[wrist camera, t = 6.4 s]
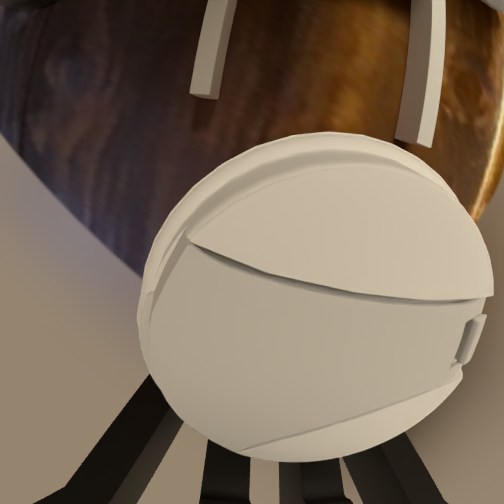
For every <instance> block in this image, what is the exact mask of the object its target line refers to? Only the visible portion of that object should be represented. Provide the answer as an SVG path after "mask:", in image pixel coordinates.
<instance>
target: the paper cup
mask: <svg viewBox="0 0 504 504" xmlns="http://www.w3.org/2000/svg"><path fill="white" fill-rule="evenodd" d="M488 296H493V273H492V267H491V262H490V257H489V254H488V251H487V248H486V246H485V243H484V240H483V238H482V236H481V233H480V231H479V229H478V227H477V226H476V224H475V223H474V221H473V220H472V218H471V217H470V215H469V214H468V213H467V211H466V210H465V208H464V207H463V206H462V205H461V204H460V203H459V201H458V199H457V197H456V195H455V194H454V193H453V191H452V190H451V189H450V188H449V186H448V185H447V184H446V183H445V181H444V180H443V179H442V178H441V176H440V175H438V174H437V173H436V172H435V171H434V170H433V169H432V168H430V167H429V166H428V165H427V164H426V163H424V162H423V161H422V160H421V159H419V158H418V157H416V156H414V155H413V154H411V153H409V152H407V151H405V150H403V149H401V148H400V147H398V146H396V145H394V144H391V143H388V142H385V141H382V140H378V139H375V138H372V137H368V136H365V135H359V134H349V133H338V132H319V133H309V134H300V135H292V136H288V137H285V138H281V139H278V140H274V141H271V142H268V143H265V144H261V145H258V146H255V147H253V148H251V149H249V150H247V151H245V152H243V153H242V154H240V155H238V156H236V157H234V158H232V159H230V160H228V161H226V162H224V163H223V164H221V165H220V166H219V167H217V168H216V169H215V170H213V171H212V172H211V173H209V174H208V175H207V176H206V177H204V178H203V179H202V180H200V181H199V182H198V183H197V184H195V185H194V186H193V187H192V188H191V189H190V191H189V192H188V193H187V194H186V195H185V196H184V197H183V198H182V200H181V201H180V202H179V203H178V204H177V205H176V206H175V207H174V209H173V210H172V211H171V212H170V214H169V216H168V217H167V219H166V221H165V222H164V224H163V226H162V227H161V229H160V231H159V232H158V234H157V236H156V237H155V239H154V242H153V245H152V248H151V250H150V253H149V256H148V259H147V262H146V264H145V268H144V275H143V281H142V288H141V294H140V299H139V305H138V310H137V315H136V320H137V324H138V328H139V343H140V347H141V351H142V355H143V358H144V360H145V363H146V365H147V368H148V370H149V372H150V374H151V376H152V378H153V380H154V381H155V383H156V384H157V386H158V387H159V388H160V390H161V391H162V393H163V395H164V397H165V399H166V400H167V402H168V403H169V405H170V406H171V407H172V409H173V410H174V411H175V412H176V414H177V415H178V416H179V417H180V418H181V419H182V420H183V421H184V422H185V423H187V424H188V425H189V426H190V427H191V428H192V429H194V430H195V431H197V432H198V433H200V434H201V435H203V436H205V437H206V438H208V439H210V440H211V441H213V442H215V443H217V444H219V445H221V446H223V447H225V448H227V449H229V450H231V451H233V452H236V453H238V454H241V455H244V456H248V457H253V458H257V459H263V460H269V461H279V462H311V461H321V460H328V459H333V458H338V457H343V456H347V455H351V454H354V453H357V452H361V451H364V450H367V449H369V448H372V447H374V446H377V445H379V444H381V443H384V442H386V441H388V440H390V439H392V438H393V437H395V436H397V435H399V434H401V433H403V432H404V431H406V430H407V429H409V428H410V427H412V426H414V425H415V424H416V423H418V422H419V421H421V420H422V419H423V418H424V417H426V416H427V415H428V414H429V413H431V412H432V411H433V410H434V409H435V408H436V407H438V406H439V405H440V404H441V403H442V402H443V401H444V400H445V399H446V398H447V396H448V395H450V393H451V392H452V391H453V390H454V389H455V387H456V386H457V385H458V384H459V383H460V381H461V380H462V375H463V373H462V370H461V367H462V365H464V364H466V363H467V362H469V361H470V359H471V357H472V355H473V353H474V350H475V347H476V345H477V342H478V340H479V337H480V334H481V331H482V328H483V326H484V323H485V320H486V317H487V316H486V315H485V314H481V313H482V309H483V306H484V303H485V299H486V297H488Z"/></svg>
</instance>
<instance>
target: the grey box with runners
mask: <svg viewBox="0 0 504 504" xmlns="http://www.w3.org/2000/svg"><path fill="white" fill-rule="evenodd" d="M236 5H237V0H208V3H207V8H206V12H205V16H204V20H203V25H202V29H201V34H200V39H199V44H198V49H197V54H196V59H195V64H194V70H193V75H192V81H191V87H190V94H193V95H195V96H198V97H200V98H207V99H217V100H218V98H219V92H220V86H221V80H222V74H223V69H224V63H225V58H226V53H227V47H228V42H229V37H230V32H231V28H232V23H233V18H234V14H235V9H236ZM445 26H446V9H445V0H411V17H410V33H409V45H408V55H407V64H406V72H405V79H404V86H403V93H402V99H401V105H400V111H399V117H398V122H397V127H396V132H395V137H394V138H395V139H398V140H401V141H404V142H406V143H411V144H415V145H420V146H424V147H428V148H431V145H432V140H433V135H434V130H435V124H436V119H437V113H438V106H439V100H440V92H441V84H442V75H443V65H444V51H445Z"/></svg>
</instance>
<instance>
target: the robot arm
mask: <svg viewBox="0 0 504 504" xmlns="http://www.w3.org/2000/svg"><path fill="white" fill-rule="evenodd" d="M55 1H57V0H0V5H2V6H4V7H8V8H12V9H16V10H21V11H30V10H35V9H38V8H41V7H44V6H46V5H48V4H51V3H53V2H55ZM183 422H184V421H183V420H182V419H181V418H180V417H179V416H178V415H177V414H176V412H175V411H174V410H173V409H172V407H171V406H170V405H169V403H168V402H167V400H166V399H165V397H164V395H163V393H162V391H161V390H160V388H159V387H158V386H157V384H156V383H155V381H154V380H153V378H152V376H151V374H149V375H148V376H147V378H146V379H145V380H144V382H143V383H142V384H141V386H140V387H139V388H138V390H137V391H136V392H135V394H134V395H133V396H132V398H131V399H130V400H129V402H128V403H127V404H126V406H125V407H124V408H123V410H122V411H121V412H120V413H119V415H118V416H117V418H116V419H115V420H114V421H113V423H112V424H111V425H110V427H109V428H108V429H107V431H106V432H105V433H104V435H103V436H102V437H101V439H100V440H99V442H98V443H97V444H96V445H95V447H94V448H93V449H92V451H91V452H90V453H89V455H88V456H87V458H86V459H85V460H84V462H83V463H82V464H81V466H80V467H79V468H78V470H77V471H76V472H75V474H74V475H73V476H72V478H71V479H70V480H69V482H68V483H67V484H66V486H65V487H63V488H62V489H60V490H58V491H56V492H54V493H53V494H51V495H49V496H47V497H45V498H43V499H41V500H39V501H37V502H35V503H33V504H137V502H138V500H139V499H140V497H141V495H142V494H143V492H144V490H145V488H146V487H147V485H148V483H149V482H150V480H151V478H152V477H153V475H154V473H155V471H156V470H157V468H158V466H159V464H160V463H161V461H162V459H163V457H164V455H165V454H166V452H167V450H168V449H169V447H170V445H171V443H172V442H173V440H174V438H175V436H176V435H177V433H178V431H179V429H180V428H181V426H182V424H183ZM250 458H251V457H248V456H244V455H241V454H238V453H236V452H233V451H231V450H229V449H227V448H225V447H223V446H221V445H219V444H217V443H215V442H213V441H211V440H210V439H208V443H207V451H206V458H205V465H204V472H203V480H202V487H201V495H200V501H199V504H251V503H250V500H249V484H250ZM343 460H344V462H345V464H346V466H347V468H348V471H349V473H350V475H351V477H352V479H353V482H354V484H355V486H356V488H357V491H358V493H359V495H360V497H361V499H362V502H363V504H448V503H447V502H446V501H444V499H443V497H442V495H441V493H440V492H439V490H438V488H437V486H436V485H435V483H434V481H433V479H432V477H431V476H430V474H429V472H428V470H427V469H426V467H425V465H424V463H423V462H422V460H421V458H420V457H419V455H418V454H417V452H416V450H415V448H414V446H413V445H412V443H411V441H410V440H409V438H408V437H407V435H406V433H405V431H404V432H403V433H401V434H399V435H397V436H395V437H393V438H392V439H390V440H388V441H386V442H384V443H381V444H379V445H377V446H374V447H372V448H369V449H367V450H364V451H361V452H357V453H354V454H351V455H347V456H343ZM279 490H280V491H279V493H280V495H279V496H280V504H353V502H352V501H351V500H350V499H348V498H346V497H345V495H344V490H343V483H342V476H341V469H340V463H339V457H338V458H333V459H328V460H321V461H311V462H279Z"/></svg>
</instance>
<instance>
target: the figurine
mask: <svg viewBox="0 0 504 504" xmlns="http://www.w3.org/2000/svg"><path fill="white" fill-rule="evenodd" d="M481 1H483V2H484V3H485V4H487V5H488V6H489V7H491V8H492V9H496V10H497V11H499V12H501V13H503V14H504V0H481Z"/></svg>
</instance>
